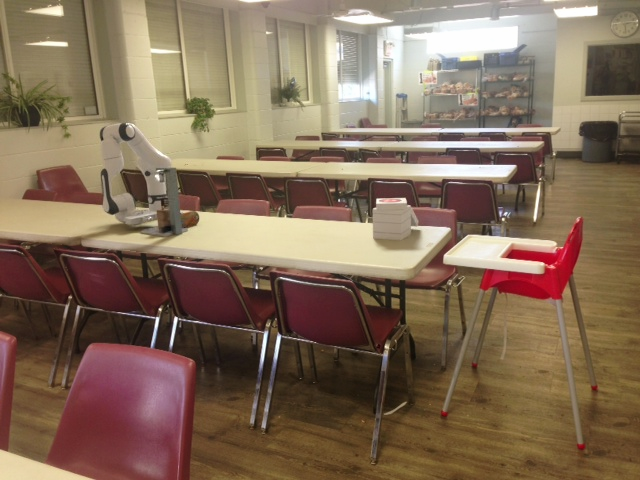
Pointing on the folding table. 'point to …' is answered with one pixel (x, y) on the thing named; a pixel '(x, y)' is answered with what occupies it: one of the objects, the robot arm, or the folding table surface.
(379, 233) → the pizza boxes
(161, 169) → the press
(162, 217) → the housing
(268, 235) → the folding table surface
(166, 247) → the folding table surface
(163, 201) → the coffee box
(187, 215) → the tin
